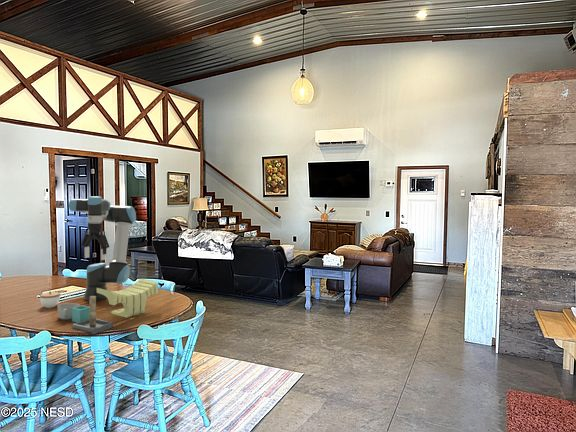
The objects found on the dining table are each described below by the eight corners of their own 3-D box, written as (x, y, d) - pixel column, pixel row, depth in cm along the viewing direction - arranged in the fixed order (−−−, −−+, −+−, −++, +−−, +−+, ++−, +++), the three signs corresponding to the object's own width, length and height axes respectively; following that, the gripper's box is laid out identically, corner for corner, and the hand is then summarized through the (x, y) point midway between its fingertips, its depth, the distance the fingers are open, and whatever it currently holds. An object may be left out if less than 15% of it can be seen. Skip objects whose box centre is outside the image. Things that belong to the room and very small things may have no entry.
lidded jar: (64, 305, 247) (64, 290, 246) (48, 309, 237) (48, 294, 236) (51, 303, 250) (51, 288, 250) (35, 307, 240) (35, 292, 240)
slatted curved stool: (114, 323, 215) (114, 291, 214) (96, 318, 223) (96, 287, 222) (157, 310, 240) (158, 282, 239) (140, 306, 248) (140, 278, 247)
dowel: (88, 326, 206) (88, 296, 205) (93, 325, 209) (93, 295, 208) (92, 327, 205) (92, 297, 204) (97, 325, 208) (97, 296, 207)
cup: (72, 322, 215) (71, 308, 214) (82, 319, 221) (82, 305, 220) (80, 324, 212) (80, 309, 212) (90, 321, 218) (90, 306, 218)
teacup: (63, 315, 226) (63, 302, 226) (82, 315, 227) (82, 302, 226) (50, 323, 212) (50, 309, 212) (71, 323, 213) (71, 309, 213)
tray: (72, 329, 205) (72, 324, 205) (92, 322, 216) (92, 317, 216) (93, 334, 198) (93, 329, 198) (113, 327, 209) (113, 322, 209)
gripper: (74, 222, 230) (74, 257, 231) (105, 224, 220) (105, 261, 221) (85, 221, 237) (85, 256, 238) (115, 223, 227) (115, 259, 228)
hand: (95, 258), depth 230 cm, fingers open, 13 cm apart
